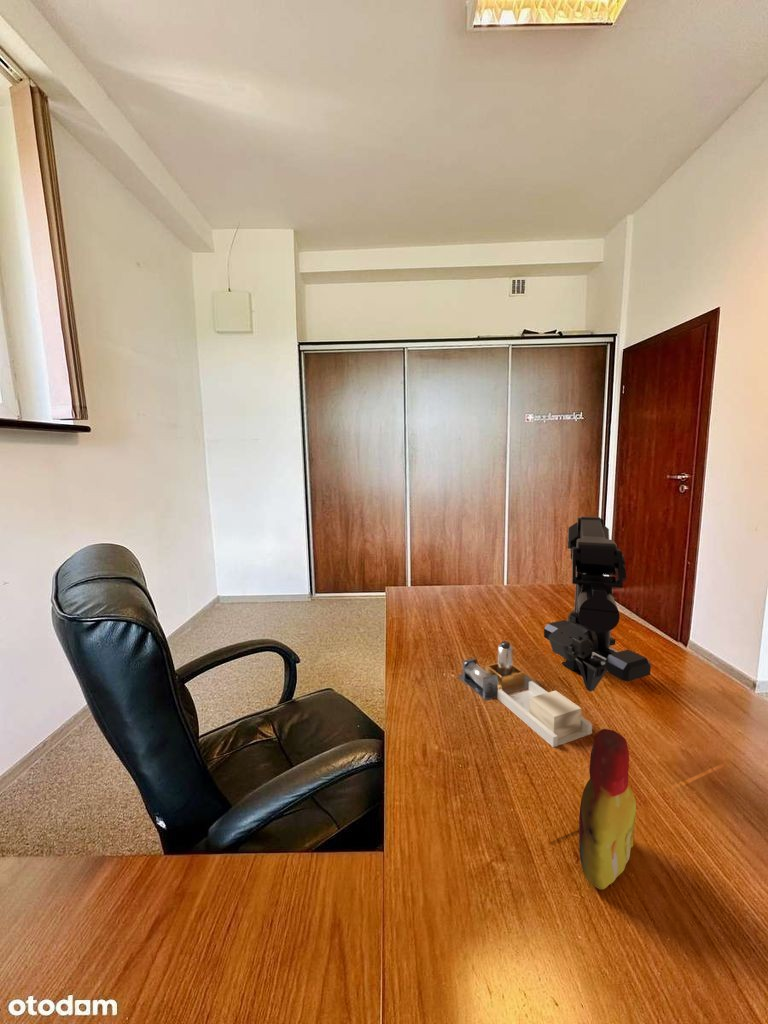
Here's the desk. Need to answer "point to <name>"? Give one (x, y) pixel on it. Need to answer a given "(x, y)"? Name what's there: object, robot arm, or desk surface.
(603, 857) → the bottle
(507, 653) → the capped metal canister
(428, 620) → the desk surface
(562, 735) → the pale wooden block
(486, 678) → the grey metal holder
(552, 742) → the bay
